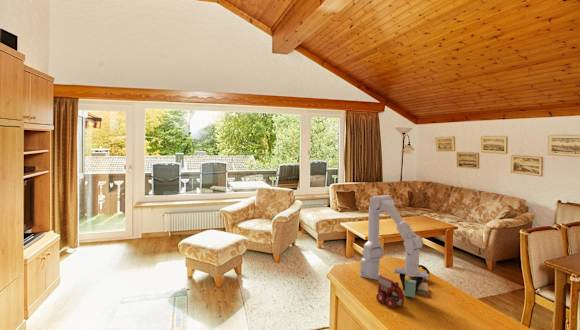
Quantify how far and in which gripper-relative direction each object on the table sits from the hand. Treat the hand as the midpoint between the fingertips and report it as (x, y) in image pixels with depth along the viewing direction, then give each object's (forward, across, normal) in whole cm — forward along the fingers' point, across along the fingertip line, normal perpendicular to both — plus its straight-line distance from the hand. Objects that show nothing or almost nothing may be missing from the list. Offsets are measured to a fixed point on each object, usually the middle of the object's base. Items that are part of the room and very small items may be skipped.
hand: (409, 290), depth 141 cm
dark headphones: (+3, +3, +22) cm, 22 cm away
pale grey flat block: (+3, +4, +8) cm, 10 cm away
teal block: (+2, 0, 0) cm, 2 cm away
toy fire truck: (+3, -8, -9) cm, 13 cm away
